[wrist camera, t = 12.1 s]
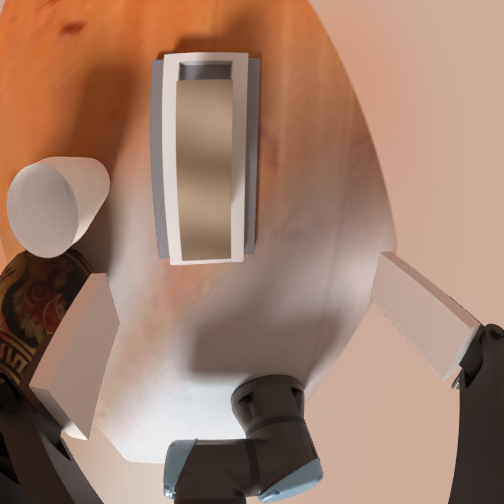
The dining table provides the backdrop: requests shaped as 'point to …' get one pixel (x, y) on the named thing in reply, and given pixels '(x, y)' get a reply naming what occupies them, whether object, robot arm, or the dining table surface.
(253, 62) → the track base
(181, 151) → the beige textured block
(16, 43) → the dining table surface
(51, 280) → the ceramic jug
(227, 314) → the dining table surface
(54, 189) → the cup
